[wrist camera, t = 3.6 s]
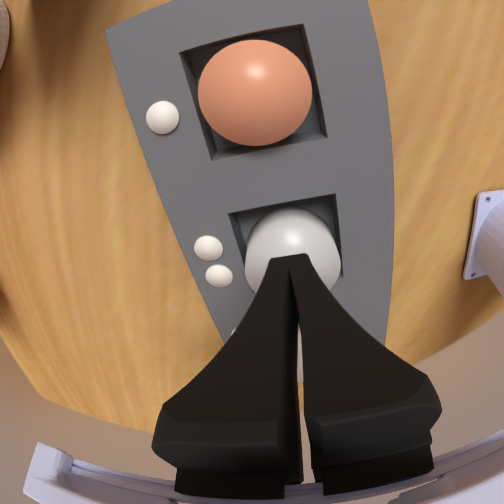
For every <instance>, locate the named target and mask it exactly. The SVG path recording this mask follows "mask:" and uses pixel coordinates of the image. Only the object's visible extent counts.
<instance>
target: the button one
mask: <svg viewBox="0 0 504 504" xmlns="http://www.w3.org/2000/svg"><path fill="white" fill-rule="evenodd" d="M311 100H312V86H311V81H310V78H309V75H308V73H307V70H306V69H305V67H304V65H303V64H302V62H301V61H300V60H299V59H298V58H297V57H296V56H295V55H294V54H293V53H292V52H290V51H289V50H288V49H286V48H284V47H282V46H280V45H278V44H275V43H273V42H269V41H264V40H246V41H240V42H237V43H234V44H231V45H229V46H227V47H225V48H224V49H222V50H220V51H219V52H218V53H217V54H215V55H214V56H213V57H212V58H211V59H210V61H209V62H208V63H207V65H206V66H205V68H204V70H203V72H202V74H201V77H200V80H199V85H198V101H199V105H200V108H201V111H202V114H203V116H204V117H205V119H206V121H207V122H208V123H209V125H210V126H211V127H212V128H213V129H214V130H215V131H216V132H217V133H218V134H220V135H221V136H223V137H224V138H226V139H228V140H230V141H232V142H235V143H238V144H242V145H248V146H262V145H268V144H272V143H275V142H278V141H280V140H282V139H284V138H286V137H288V136H289V135H291V134H292V133H293V132H294V131H295V130H296V129H297V128H298V127H299V126H300V125H301V124H302V123H303V121H304V119H305V118H306V116H307V114H308V111H309V109H310V105H311Z"/></svg>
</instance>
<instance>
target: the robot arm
mask: <svg viewBox="0 0 504 504" xmlns="http://www.w3.org/2000/svg"><path fill="white" fill-rule="evenodd" d="M487 197H488V198H487ZM486 198H487V200H486ZM484 275H488V277H489V278H490V280H491V281H492V282H493V284H494V285H495V287H496V288H497V290H498V291H499V292H500V294H501V295H502V297H503V298H504V189H502V190H495V191H487V192H481V193H479V194H478V195H477V198H476V204H475V212H474V219H473V226H472V232H471V238H470V243H469V248H468V253H467V258H466V263H465V267H464V272H463V278H464V279H465V280H470V279H474V278H477V277H481V276H484ZM298 323H299V328H300V332H301V344H302V362H303V388H304V417H305V422H306V427H307V431H308V436H309V442H310V449H311V468H312V469H313V474H314V478H315V483H308V484H301V483H302V482H303V481H304V475H303V461H302V444H301V429H300V413H299V398H298V383H297V366H298ZM441 412H442V407H441V403H440V400H439V397H438V395H437V393H436V391H435V389H434V387H433V385H432V383H431V381H430V379H429V378H428V376H427V375H426V374H424V373H423V372H421V371H419V370H418V369H416V368H414V367H413V366H411V365H410V364H408V363H407V362H405V361H404V360H402V359H401V358H399V357H398V356H397V355H395V354H394V353H393V352H391V351H390V350H388V349H387V348H386V347H385V346H383V345H382V344H381V343H380V342H379V341H377V340H376V339H375V338H374V337H373V336H371V335H370V334H369V333H368V332H367V331H366V330H365V329H364V328H362V327H361V326H360V325H359V324H358V323H357V322H356V321H355V320H354V319H353V318H352V317H351V316H350V315H349V313H348V312H347V311H346V310H345V309H344V308H343V307H342V306H341V304H340V303H339V302H338V301H337V300H336V298H335V297H334V296H333V295H332V293H331V292H330V291H329V289H328V288H327V286H326V285H325V284H324V282H323V281H322V279H321V278H320V276H319V275H318V273H317V272H316V270H315V268H314V266H313V264H312V262H311V260H310V258H309V255H308V254H306V253H301V254H295V255H288V256H282V257H275V258H271V259H270V260H269V262H268V266H267V269H266V272H265V274H264V277H263V279H262V282H261V284H260V286H259V288H258V291H257V293H256V295H255V297H254V299H253V301H252V303H251V305H250V306H249V308H248V310H247V312H246V314H245V315H244V317H243V319H242V320H241V322H240V324H239V325H238V327H237V328H236V330H235V331H234V332H233V334H232V335H231V337H230V338H229V339H228V341H227V342H226V343H225V345H224V346H223V347H222V348H221V350H220V351H219V352H218V353H217V355H216V356H215V357H214V358H213V359H212V360H211V361H210V362H209V363H208V364H207V366H206V367H205V368H204V369H203V370H202V371H201V372H200V373H199V374H198V375H197V376H196V377H195V378H194V379H193V380H192V381H191V382H189V383H188V384H187V385H186V386H185V387H184V388H182V389H181V390H180V391H179V392H178V393H176V394H175V395H174V396H173V397H171V398H170V399H169V400H168V401H166V402H165V403H164V404H163V405H162V409H161V411H160V414H159V416H158V420H157V423H156V427H155V432H154V437H153V441H152V446H151V447H152V450H153V451H154V452H155V454H156V455H158V456H159V457H160V458H162V459H163V460H165V461H166V462H168V463H170V464H171V465H172V466H174V467H176V468H177V474H176V480H175V481H171V480H164V479H158V478H152V477H146V476H140V475H136V474H131V473H126V472H121V471H118V470H114V469H109V468H106V467H102V466H98V465H95V464H91V463H88V462H84V461H81V460H78V459H75V458H73V457H72V456H71V455H69V454H67V453H66V452H64V451H62V450H60V449H58V448H56V447H53V446H50V445H48V444H45V443H42V442H38V443H37V446H36V449H35V452H34V455H33V458H32V461H31V464H30V468H29V471H28V474H27V478H26V481H25V485H24V488H23V492H24V494H26V495H28V496H29V497H31V498H33V499H35V500H36V501H38V502H40V503H41V504H179V503H177V502H182V503H189V504H332V503H339V502H346V501H351V500H357V499H363V498H368V497H373V496H377V495H382V494H386V493H391V492H395V491H398V490H402V489H405V488H409V487H413V486H416V485H419V484H423V483H426V482H429V481H432V480H435V479H437V480H436V481H433V482H431V483H428V484H426V485H423V486H420V487H417V488H415V489H412V490H409V491H406V492H403V493H401V494H400V495H399V497H398V498H396V499H394V500H391V501H390V502H389V503H388V504H504V429H502V430H500V431H498V432H496V433H493V434H491V435H489V436H487V437H485V438H483V439H480V440H478V441H476V442H473V443H471V444H469V445H466V446H464V447H461V448H459V449H456V450H453V451H451V452H448V453H445V454H442V455H440V456H436V457H434V458H432V453H431V449H430V445H431V444H432V437H431V433H430V429H431V428H432V427H433V425H434V424H435V423H436V421H437V420H438V418H439V417H440V415H441Z"/></svg>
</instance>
